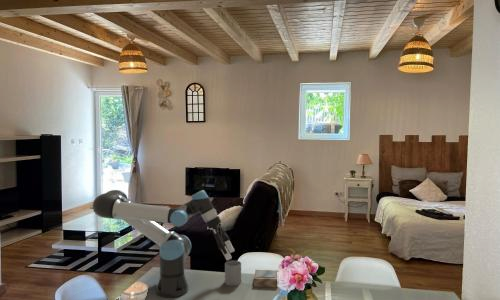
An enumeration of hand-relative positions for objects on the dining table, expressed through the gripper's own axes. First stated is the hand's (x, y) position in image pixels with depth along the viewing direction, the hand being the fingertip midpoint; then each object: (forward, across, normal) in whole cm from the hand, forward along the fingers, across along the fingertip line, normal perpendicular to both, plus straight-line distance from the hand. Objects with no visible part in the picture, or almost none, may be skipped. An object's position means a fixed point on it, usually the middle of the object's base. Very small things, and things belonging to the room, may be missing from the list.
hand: (231, 255), depth 190 cm
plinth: (+21, +2, -9) cm, 23 cm away
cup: (+13, +1, +6) cm, 14 cm away
